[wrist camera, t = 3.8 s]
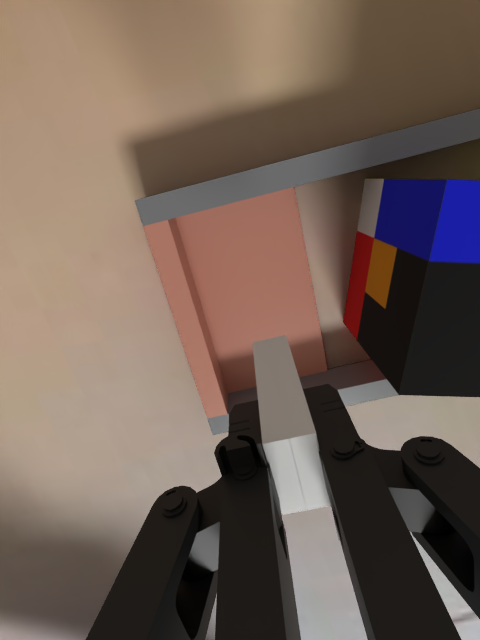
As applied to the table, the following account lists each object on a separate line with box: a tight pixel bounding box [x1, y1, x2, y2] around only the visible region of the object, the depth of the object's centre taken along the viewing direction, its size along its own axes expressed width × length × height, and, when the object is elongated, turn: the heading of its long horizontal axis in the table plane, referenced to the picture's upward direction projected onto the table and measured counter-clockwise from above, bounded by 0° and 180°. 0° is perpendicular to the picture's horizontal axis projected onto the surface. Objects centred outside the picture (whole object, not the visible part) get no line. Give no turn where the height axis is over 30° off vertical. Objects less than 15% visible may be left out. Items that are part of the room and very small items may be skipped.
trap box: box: [135, 108, 480, 435], centre depth 24 cm, size 33×17×5 cm, turn 104°
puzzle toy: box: [343, 179, 480, 397], centre depth 21 cm, size 10×10×10 cm
